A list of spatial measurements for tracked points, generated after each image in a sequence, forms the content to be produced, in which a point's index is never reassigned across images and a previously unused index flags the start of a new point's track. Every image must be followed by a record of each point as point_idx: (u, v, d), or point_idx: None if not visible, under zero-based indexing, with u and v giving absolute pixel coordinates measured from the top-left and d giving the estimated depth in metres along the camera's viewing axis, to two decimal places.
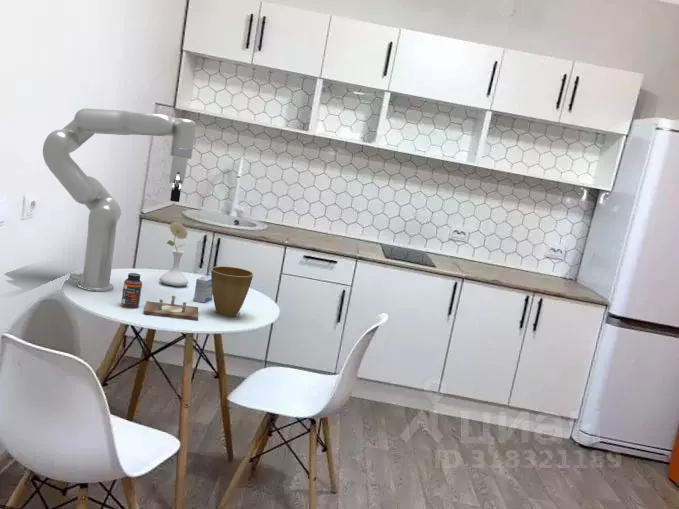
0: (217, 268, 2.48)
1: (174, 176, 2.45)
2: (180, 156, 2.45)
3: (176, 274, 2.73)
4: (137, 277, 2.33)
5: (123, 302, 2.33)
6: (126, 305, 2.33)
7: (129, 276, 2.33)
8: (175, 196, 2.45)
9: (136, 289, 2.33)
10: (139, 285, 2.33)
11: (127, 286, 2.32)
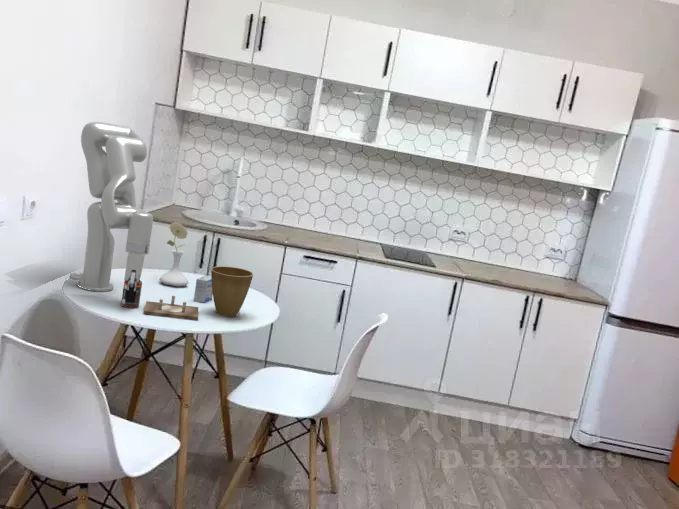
0: (217, 268, 2.48)
1: (129, 274, 2.29)
2: (136, 252, 2.29)
3: (176, 274, 2.73)
4: None
5: (123, 302, 2.33)
6: (126, 305, 2.33)
7: None
8: (130, 296, 2.31)
9: (136, 289, 2.33)
10: (139, 285, 2.33)
11: (127, 286, 2.32)
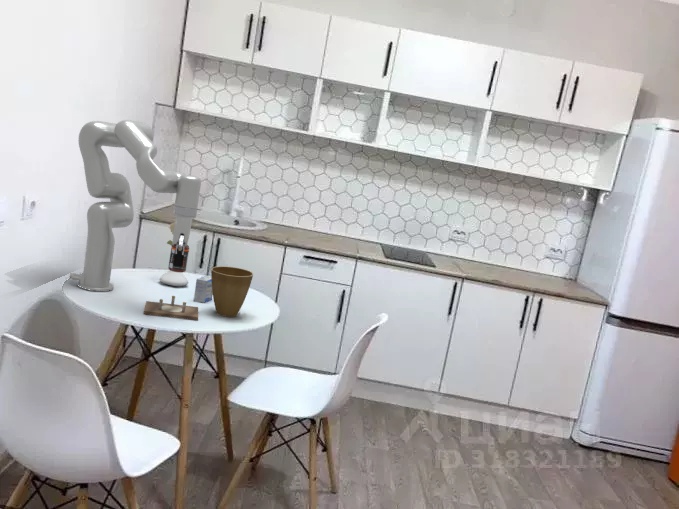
0: (217, 268, 2.48)
1: (177, 237, 2.28)
2: (184, 216, 2.28)
3: (176, 274, 2.73)
4: None
5: (171, 266, 2.32)
6: (174, 269, 2.32)
7: None
8: (178, 260, 2.30)
9: (184, 253, 2.32)
10: (187, 249, 2.32)
11: (175, 250, 2.31)
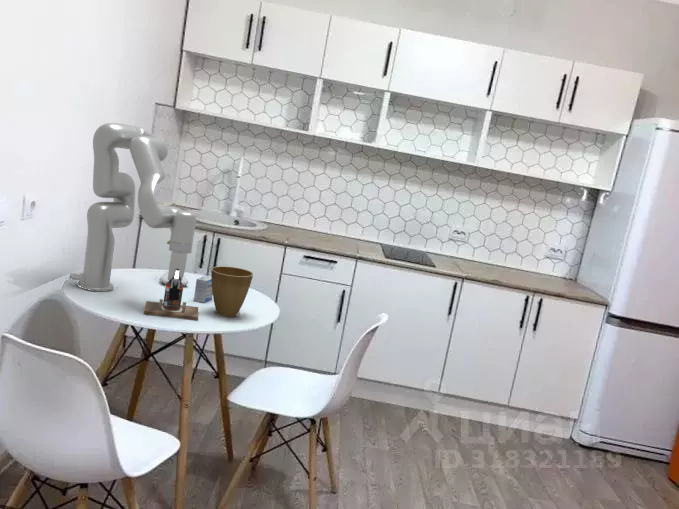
0: (217, 268, 2.48)
1: (173, 273, 2.30)
2: (179, 251, 2.30)
3: None
4: None
5: (165, 304, 2.34)
6: (168, 307, 2.34)
7: None
8: (174, 295, 2.31)
9: None
10: (181, 287, 2.34)
11: (169, 289, 2.33)
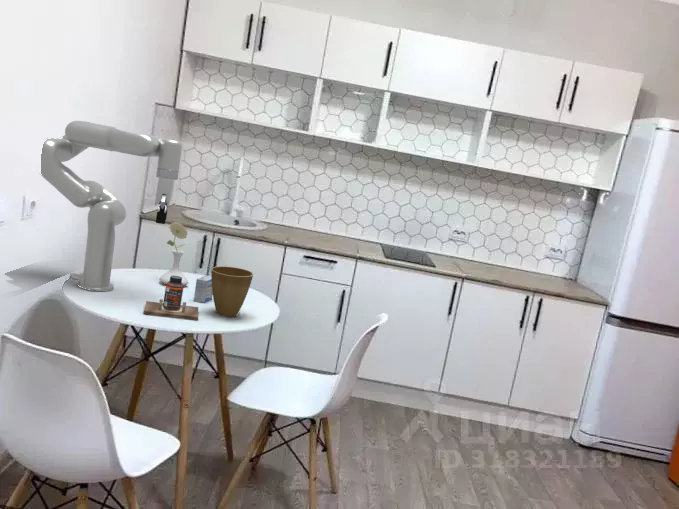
0: (217, 268, 2.48)
1: (160, 198, 2.41)
2: (166, 177, 2.41)
3: (176, 274, 2.73)
4: (179, 280, 2.34)
5: (165, 305, 2.34)
6: (168, 307, 2.34)
7: (171, 279, 2.34)
8: (161, 218, 2.41)
9: (178, 291, 2.34)
10: (181, 288, 2.34)
11: (169, 289, 2.33)
